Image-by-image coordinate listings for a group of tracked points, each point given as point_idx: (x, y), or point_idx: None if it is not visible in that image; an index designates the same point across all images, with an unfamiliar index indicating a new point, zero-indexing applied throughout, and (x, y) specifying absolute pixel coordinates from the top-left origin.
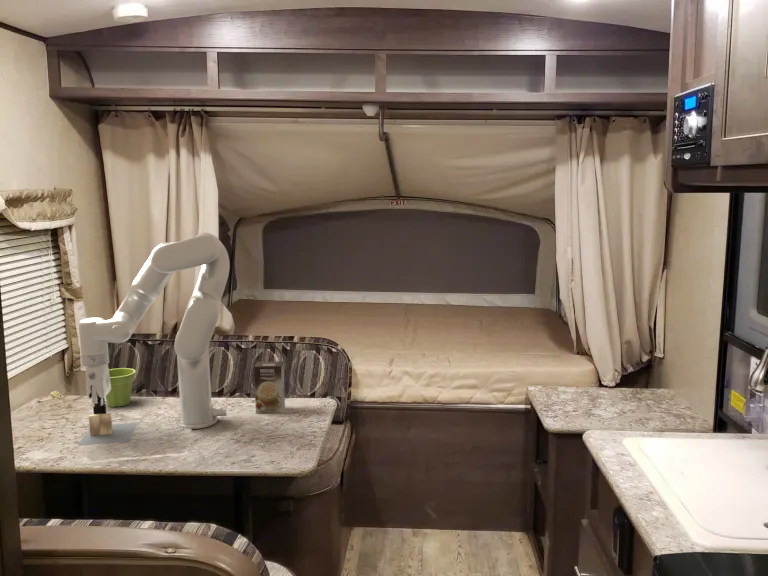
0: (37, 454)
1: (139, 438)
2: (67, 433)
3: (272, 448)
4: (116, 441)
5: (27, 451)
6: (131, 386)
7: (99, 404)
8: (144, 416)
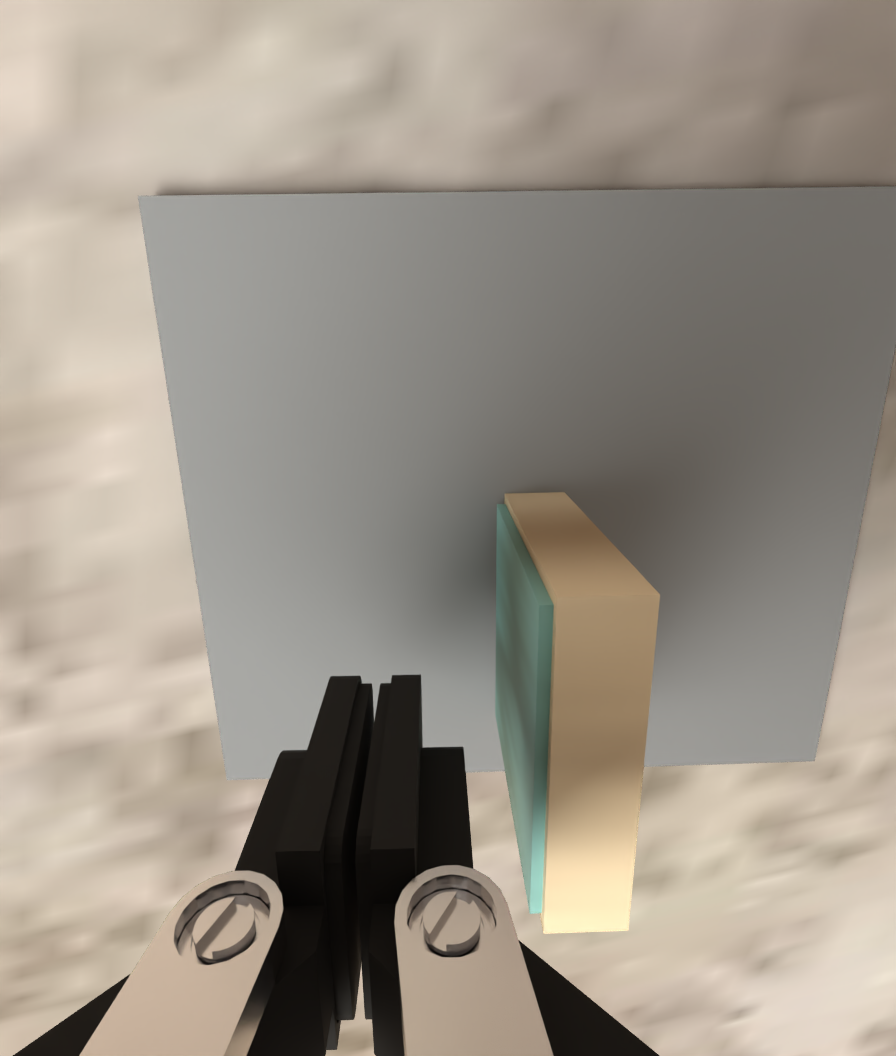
0: (838, 994)
1: (772, 67)
2: None
3: None
4: (868, 366)
5: None
6: None
7: (554, 985)
8: None
